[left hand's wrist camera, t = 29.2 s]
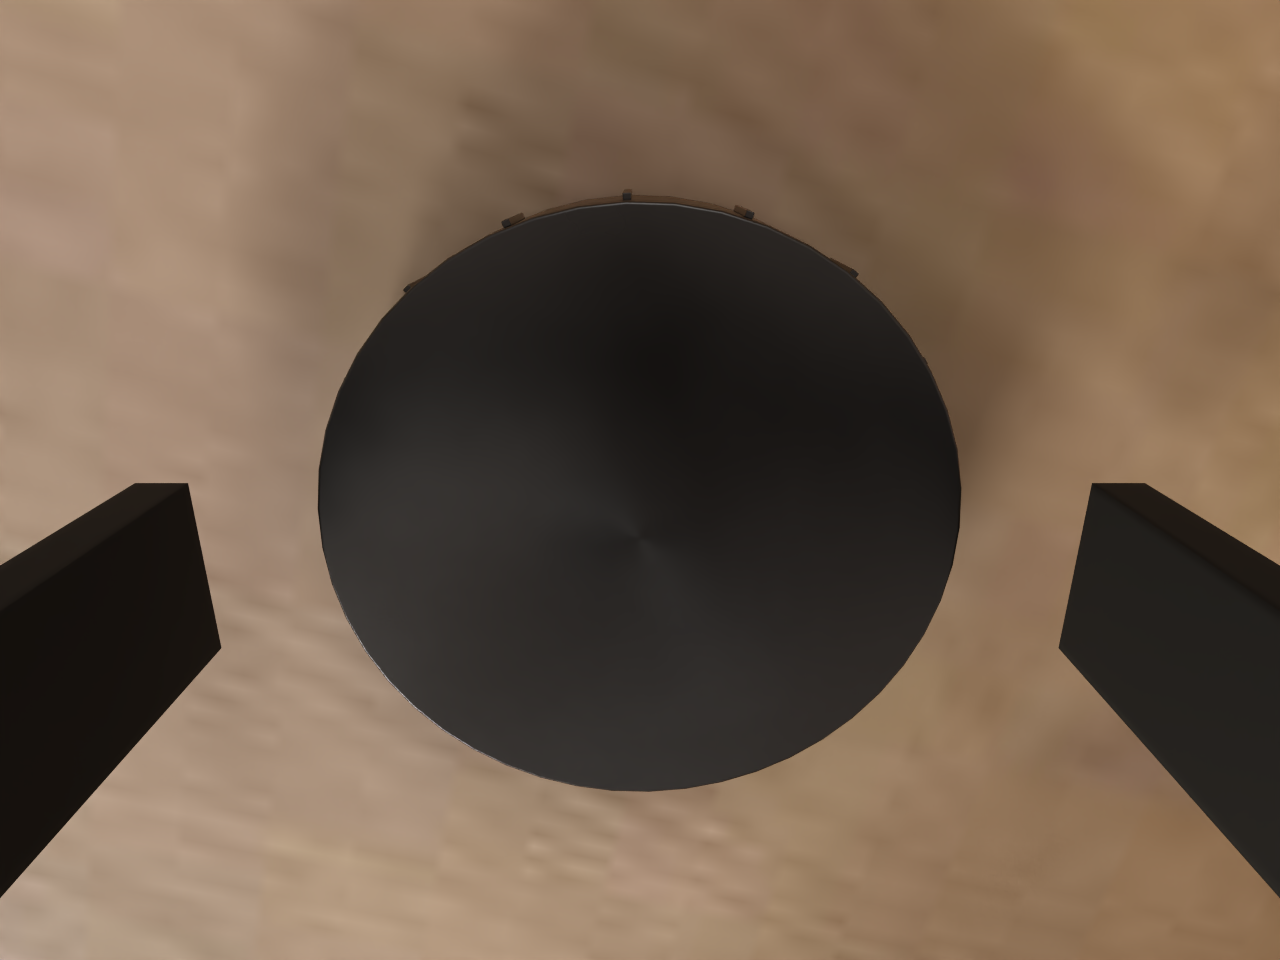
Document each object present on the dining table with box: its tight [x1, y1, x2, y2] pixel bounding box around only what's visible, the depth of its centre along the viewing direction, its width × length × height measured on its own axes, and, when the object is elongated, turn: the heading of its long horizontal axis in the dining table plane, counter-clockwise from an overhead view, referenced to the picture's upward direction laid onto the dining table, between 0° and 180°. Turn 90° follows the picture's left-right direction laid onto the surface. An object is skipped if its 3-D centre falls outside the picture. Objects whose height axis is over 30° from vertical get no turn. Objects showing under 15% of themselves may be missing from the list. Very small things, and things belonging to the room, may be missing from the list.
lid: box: [318, 189, 961, 792], centre depth 13 cm, size 9×9×2 cm
